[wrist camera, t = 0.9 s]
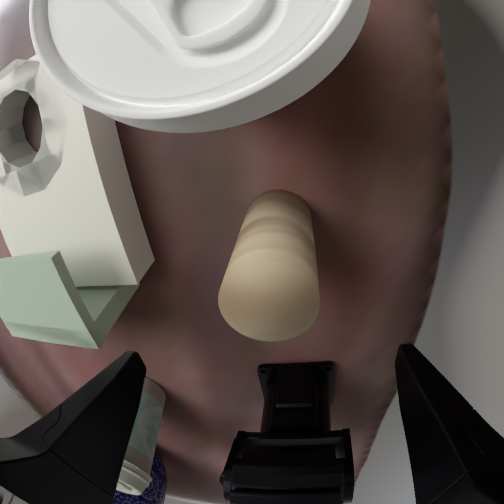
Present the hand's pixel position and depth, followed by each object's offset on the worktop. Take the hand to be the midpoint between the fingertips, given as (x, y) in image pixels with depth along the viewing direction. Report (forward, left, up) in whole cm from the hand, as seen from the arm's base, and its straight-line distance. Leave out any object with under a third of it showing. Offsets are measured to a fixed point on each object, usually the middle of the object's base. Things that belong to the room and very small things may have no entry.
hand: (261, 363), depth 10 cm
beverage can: (+11, 0, -11) cm, 16 cm away
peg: (0, 0, -11) cm, 11 cm away
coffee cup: (-18, +17, -11) cm, 27 cm away
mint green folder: (-1, +16, -11) cm, 19 cm away
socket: (+6, +15, -11) cm, 19 cm away
